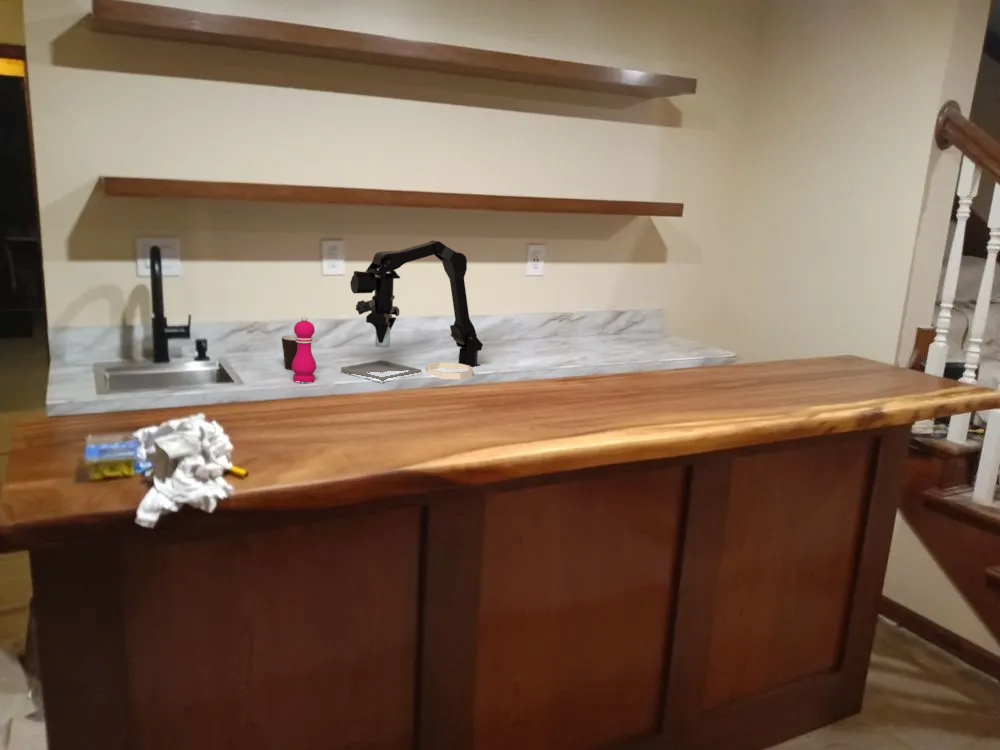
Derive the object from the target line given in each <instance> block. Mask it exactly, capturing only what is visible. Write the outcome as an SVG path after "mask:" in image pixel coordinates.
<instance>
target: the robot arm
mask: <svg viewBox="0 0 1000 750" xmlns="http://www.w3.org/2000/svg"><path fill="white" fill-rule="evenodd" d="M431 256H435V257H436V258H437V259H438V260H439V261H440V262H441V263H442V267H443V270H444V272H445V273H446V275H447V277H448V278H449V284H450V291H451V298H452V304H453V305H452V306H453V313H454V323H453V324H450V325H449V328H450V332H451V335H450V337H452V339H453V341H454V342H455V343H456V346H457V348H458V347H459V354H458V363H460V364H465V365H469V366H471V367H472V368H475V366H476V367H479V366H481V363H478V355H479V352H480V351H482V349H483V346H484V344H483V343H482V342H481V341H480V339H479V338H478V337H477V336H478V334H477V333H476V329H475V328H476V327H475V326H474V324H473V323H472V320H471V319H470V313H469V307H468V306H469V305H468V299H467V289H466V283H465V275H466V272H467V269H468V266H467V265H468V259H467V256H466V255H465V254H464V253H462V252H459V251H455V250H453V249H452V248H451V247H449V246H446V245H445V244H444V243H443V242H441V241H438V240H430V241H428V242H426V243H421V244H417V245H414V246H410V247H408V248H404V249H400V250H385V251H383V250H382V251H378V252H376V253H375V254H374V256H373V259H372V262H371V263H370V264H369V266H367V268H366V270H365V271H360V270H354V271H353V275H352V276H351V279H350V282H349V283H350V284H349V285H350V289H351V292H352V293H353V294H372V293H373V292H374V295H373V296H372V297H371V299H370V300H366V301H365V300H364V299H362V300H360V301H358V302H357V303H356V305H355V311H357V312H358V315H362V314H365V313H367V312H370V313H368V314H367V315H366V317H365V318H366V319H365V320H366V321H365V322H366V323H367V324H371V325H372V326H373V327H374V328H375V334H376V333H377V337H378V341H379V343H382V342H383V340H384V338H385V335H386V332H387V330H388V327H390V332H391V330H392V328H393V326H394V324H395V322H396V320H397V317H399V316H400V309H399V307H398V306H396V305H395V306H394V304H393V303H394V300H395V295H394V279H399V280H400V279H401V276H400V275H399V274H398V273H397V272H396V270H398V269H400V268H401V267H402V266H403V265H405V264H407V263H410V262H413V261H416V260H420V259H423V258H427V257H431ZM393 315H395V317H393Z"/></svg>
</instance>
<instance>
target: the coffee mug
mask: <svg viewBox="0 0 1000 750" xmlns="http://www.w3.org/2000/svg"><path fill="white" fill-rule="evenodd" d="M296 337H297V335H296V334H289V335H288V334H287V335H282V336H281V344H282V346H281V347H282V353H283V361H284V369H286V370H288V371H293V370H292V362H293V360H294V358H295V356H296V353H297V342H296Z"/></svg>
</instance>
